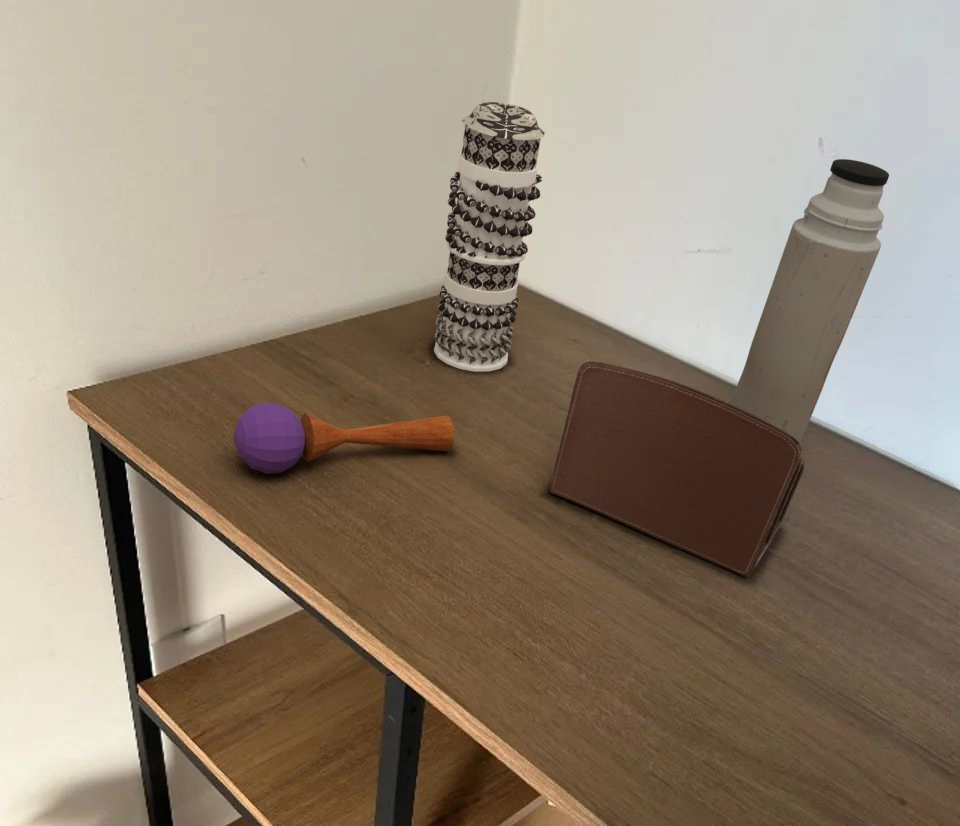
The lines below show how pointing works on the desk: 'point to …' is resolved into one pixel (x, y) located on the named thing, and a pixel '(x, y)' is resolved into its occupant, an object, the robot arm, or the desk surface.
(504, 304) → the white patterned cylinder
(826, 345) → the thermos bottle
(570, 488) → the letter holder
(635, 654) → the desk surface
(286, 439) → the kendama
